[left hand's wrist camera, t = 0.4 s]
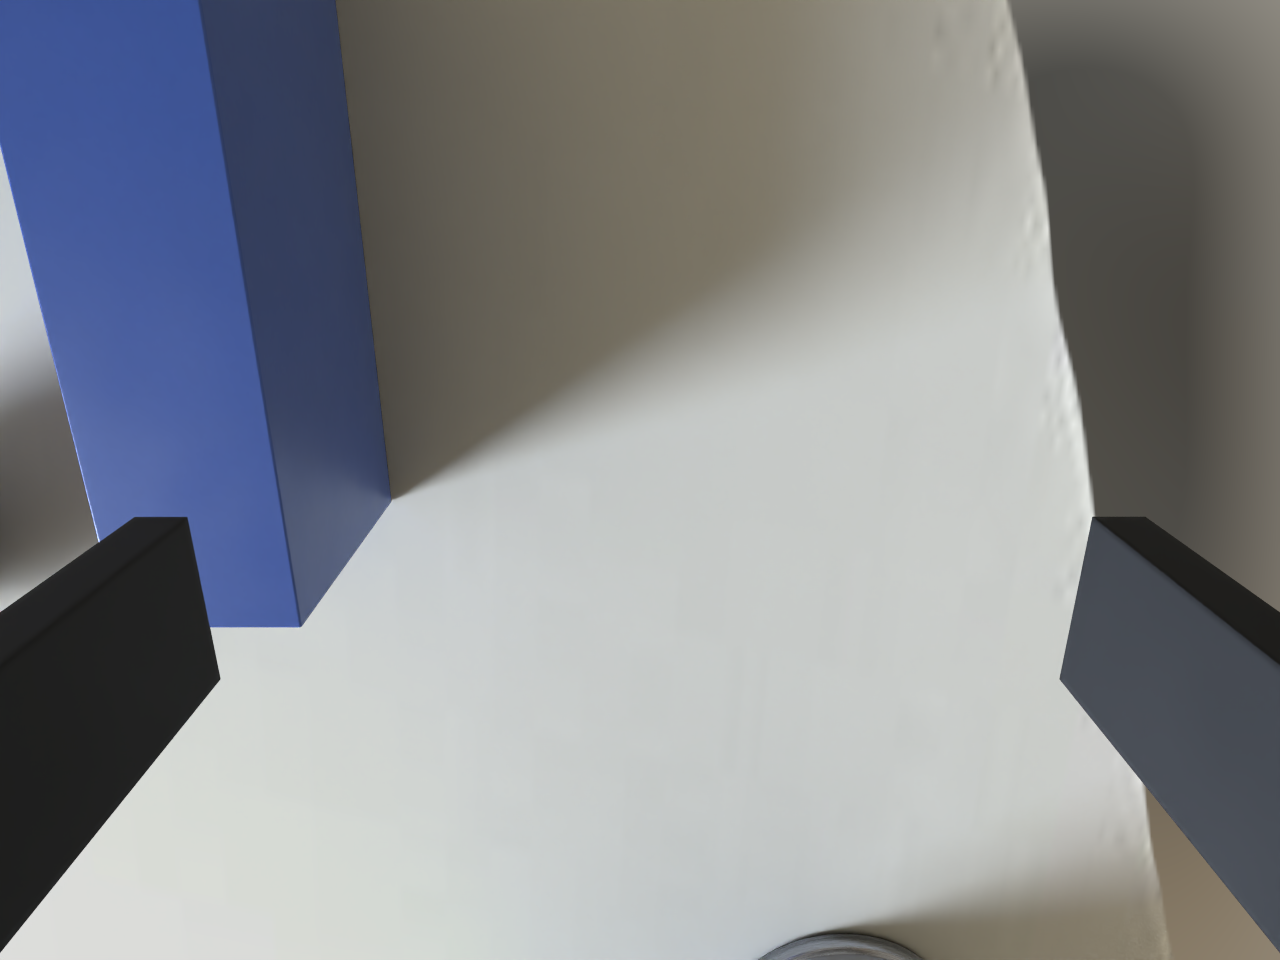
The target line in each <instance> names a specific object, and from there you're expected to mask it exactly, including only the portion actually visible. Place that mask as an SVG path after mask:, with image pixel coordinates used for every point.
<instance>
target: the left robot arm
mask: <svg viewBox="0 0 1280 960" xmlns="http://www.w3.org/2000/svg"><path fill="white" fill-rule="evenodd" d="M219 680H220V674H219V670H218V665H217V660H216V655H215V650H214V645H213V640H212V635H211V630H210V625H209V620H208V615H207V610H206V605H205V601H204V596H203V591H202V586H201V581H200V576H199V571H198V566H197V561H196V556H195V551H194V546H193V541H192V537H191V532H190V527H189V522H188V517H134V518H132V519H131V520H130V521H128V522H127V523H125V524H124V525H123V526H121V527H120V528H118V529H117V530H115V531H114V532H113V533H111V534H110V535H108V536H107V537H106V538H104V539H103V540H101V541H100V542H99V543H97V544H96V545H94V546H93V547H92V548H90V549H89V550H87V551H86V552H85V553H83V554H82V555H80V556H79V557H77V558H76V559H75V560H73V561H72V562H70V563H69V564H68V565H66V566H65V567H63V568H62V569H61V570H59V571H58V572H56V573H55V574H54V575H52V576H51V577H49V578H48V579H47V580H45V581H44V582H42V583H41V584H39V585H38V586H37V587H35V588H34V589H32V590H31V591H30V592H28V593H27V594H25V595H24V596H23V597H21V598H20V599H18V600H17V601H16V602H14V603H13V604H11V605H10V606H8V607H7V608H6V609H4V610H3V611H1V612H0V952H1V951H2V950H3V949H4V947H5V946H6V945H7V944H8V942H9V941H10V940H11V939H12V937H13V936H14V935H15V934H16V932H17V931H18V930H19V929H20V927H21V926H22V925H23V924H24V922H25V921H26V920H27V919H28V918H29V916H30V915H31V914H32V913H33V911H34V910H35V909H36V908H37V906H38V905H39V904H40V903H41V901H42V900H43V899H44V898H45V896H46V895H47V894H48V893H49V891H50V890H51V889H52V888H53V886H54V885H55V884H56V883H57V882H58V880H59V879H60V878H61V877H62V875H63V874H64V873H65V872H66V870H67V869H68V868H69V867H70V865H71V864H72V863H73V862H74V860H75V859H76V858H77V857H78V855H79V854H80V853H81V852H82V850H83V849H84V848H85V847H86V845H87V844H88V843H89V842H90V841H91V839H92V838H93V837H94V836H95V834H96V833H97V832H98V831H99V829H100V828H101V827H102V826H103V824H104V823H105V822H106V821H107V819H108V818H109V817H110V816H111V814H112V813H113V812H114V811H115V809H116V808H117V807H118V806H119V804H120V803H121V802H122V801H123V800H124V798H125V797H126V796H127V795H128V793H129V792H130V791H131V790H132V788H133V787H134V786H135V785H136V783H137V782H138V781H139V780H140V778H141V777H142V776H143V775H144V773H145V772H146V771H147V770H148V768H149V767H150V766H151V765H152V763H153V762H154V761H155V760H156V759H157V757H158V756H159V755H160V754H161V752H162V751H163V750H164V749H165V747H166V746H167V745H168V744H169V742H170V741H171V740H172V739H173V737H174V736H175V735H176V734H177V732H178V731H179V730H180V729H181V727H182V726H183V725H184V724H185V723H186V721H187V720H188V719H189V718H190V716H191V715H192V714H193V713H194V711H195V710H196V709H197V708H198V706H199V705H200V704H201V703H202V701H203V700H204V699H205V698H206V696H207V695H208V694H209V693H210V691H211V690H212V689H213V688H214V686H215V685H216V684H217V683H218V682H219ZM1060 680H1061V682H1062V683H1063V684H1064V685H1065V686H1066V688H1067V689H1068V690H1069V691H1070V693H1071V694H1072V695H1073V696H1074V698H1075V699H1076V700H1077V701H1078V703H1079V704H1080V705H1081V706H1082V708H1083V709H1084V710H1085V711H1086V713H1087V714H1088V715H1089V716H1090V718H1091V719H1092V720H1093V721H1094V723H1095V724H1096V725H1097V726H1098V727H1099V729H1100V730H1101V731H1102V732H1103V734H1104V735H1105V736H1106V737H1107V739H1108V740H1109V741H1110V742H1111V744H1112V745H1113V746H1114V747H1115V749H1116V750H1117V751H1118V752H1119V754H1120V755H1121V756H1122V757H1123V759H1124V760H1125V761H1126V762H1127V764H1128V765H1129V766H1130V767H1131V768H1132V770H1133V771H1134V772H1135V773H1136V775H1137V776H1138V777H1139V778H1140V780H1141V781H1142V782H1143V783H1144V785H1145V786H1146V787H1147V788H1148V790H1149V791H1150V792H1151V793H1152V794H1153V796H1154V797H1155V798H1156V800H1157V801H1158V802H1159V803H1160V804H1161V806H1162V807H1163V808H1164V809H1165V811H1166V812H1167V813H1168V814H1169V816H1170V817H1171V818H1172V819H1173V821H1174V822H1175V823H1176V824H1177V826H1178V827H1179V828H1180V829H1181V831H1182V832H1183V833H1184V834H1185V835H1186V837H1187V838H1188V839H1189V840H1190V842H1191V843H1192V844H1193V845H1194V847H1195V848H1196V849H1197V850H1198V852H1199V853H1200V854H1201V855H1202V857H1203V858H1204V859H1205V860H1206V862H1207V863H1208V864H1209V865H1210V867H1211V868H1212V869H1213V870H1214V871H1215V873H1216V874H1217V875H1218V877H1219V878H1220V879H1221V880H1222V882H1223V883H1224V884H1225V885H1226V886H1227V888H1228V889H1229V890H1230V891H1231V893H1232V894H1233V895H1234V896H1235V898H1236V899H1237V900H1238V901H1239V903H1240V904H1241V905H1242V906H1243V908H1244V909H1245V910H1246V911H1247V913H1248V914H1249V915H1250V916H1251V918H1252V919H1253V920H1254V921H1255V923H1256V924H1257V925H1258V926H1259V927H1260V929H1261V930H1262V931H1263V932H1264V934H1265V935H1266V936H1267V937H1268V939H1269V940H1270V941H1271V942H1272V944H1273V945H1274V946H1275V947H1276V949H1277V950H1278V951H1279V952H1280V612H1279V611H1277V610H1276V609H1274V608H1273V607H1271V606H1270V605H1269V604H1267V603H1266V602H1264V601H1263V600H1262V599H1260V598H1259V597H1257V596H1256V595H1255V594H1253V593H1252V592H1250V591H1249V590H1248V589H1246V588H1245V587H1243V586H1242V585H1241V584H1239V583H1238V582H1236V581H1235V580H1233V579H1232V578H1231V577H1229V576H1228V575H1226V574H1225V573H1224V572H1222V571H1221V570H1219V569H1218V568H1217V567H1215V566H1214V565H1212V564H1211V563H1210V562H1208V561H1207V560H1205V559H1204V558H1203V557H1201V556H1200V555H1198V554H1197V553H1195V552H1194V551H1193V550H1191V549H1190V548H1188V547H1187V546H1186V545H1184V544H1183V543H1181V542H1180V541H1179V540H1177V539H1176V538H1174V537H1173V536H1171V535H1170V534H1169V533H1167V532H1166V531H1165V530H1163V529H1162V528H1160V527H1159V526H1157V525H1156V524H1155V523H1153V522H1152V521H1150V520H1149V519H1148V518H1146V517H1092V522H1091V527H1090V532H1089V537H1088V541H1087V546H1086V551H1085V556H1084V561H1083V566H1082V571H1081V576H1080V581H1079V586H1078V591H1077V596H1076V601H1075V605H1074V610H1073V615H1072V620H1071V625H1070V630H1069V635H1068V640H1067V645H1066V650H1065V655H1064V660H1063V665H1062V669H1061V674H1060ZM759 960H922V959H921V958H920V957H918V956H917V955H916V954H914V953H913V952H911V951H909V950H908V949H906V948H904V947H902V946H900V945H898V944H895V943H893V942H890V941H887V940H883V939H880V938H876V937H871V936H865V935H856V934H831V935H821V936H816V937H810V938H806V939H802V940H798V941H795V942H792V943H789V944H787V945H784V946H782V947H780V948H777V949H776V950H774V951H772V952H770V953H768V954H766V955H765V956H763V957H762V958H760V959H759Z"/></svg>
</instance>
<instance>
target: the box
mask: <svg viewBox="0 0 1280 960" xmlns="http://www.w3.org/2000/svg"><path fill="white" fill-rule="evenodd" d="M0 147H1V151H2V155H3V159H4V163H5V167H6V171H7V175H8V179H9V183H10V187H11V191H12V195H13V199H14V203H15V207H16V211H17V215H18V219H19V223H20V227H21V231H22V235H23V239H24V243H25V247H26V251H27V255H28V259H29V263H30V267H31V271H32V276H33V280H34V284H35V288H36V292H37V296H38V300H39V304H40V308H41V312H42V316H43V320H44V324H45V328H46V332H47V336H48V340H49V344H50V348H51V352H52V356H53V360H54V364H55V368H56V372H57V376H58V380H59V384H60V388H61V392H62V396H63V400H64V404H65V408H66V413H67V417H68V421H69V425H70V429H71V433H72V437H73V441H74V445H75V449H76V453H77V457H78V461H79V465H80V469H81V473H82V477H83V481H84V485H85V489H86V493H87V497H88V501H89V505H90V509H91V513H92V517H93V521H94V525H95V529H96V533H97V537H98V541H99V542H100V541H101V540H103V539H104V538H106V537H107V536H108V535H110V534H111V533H113V532H114V531H115V530H117V529H118V528H120V527H121V526H123V525H124V524H125V523H127V522H128V521H130V520H131V519H132V518H134V517H188V522H189V527H190V532H191V537H192V541H193V546H194V551H195V556H196V561H197V566H198V571H199V576H200V581H201V586H202V591H203V596H204V601H205V605H206V610H207V615H208V620H209V625H210V627H301V626H302V625H303V624H304V622H305V621H306V620H307V618H308V617H309V615H310V614H311V613H312V611H313V610H314V608H315V607H316V606H317V604H318V603H319V602H320V600H321V599H322V597H323V596H324V595H325V593H326V592H327V590H328V589H329V588H330V586H331V585H332V583H333V582H334V581H335V579H336V578H337V576H338V575H339V574H340V572H341V571H342V569H343V568H344V567H345V565H346V564H347V562H348V561H349V560H350V558H351V557H352V556H353V554H354V553H355V551H356V550H357V549H358V547H359V546H360V544H361V543H362V542H363V540H364V539H365V537H366V536H367V535H368V533H369V532H370V530H371V529H372V528H373V526H374V525H375V523H376V522H377V521H378V519H379V518H380V516H381V515H382V514H383V512H384V511H385V510H386V508H387V507H388V505H389V504H390V503H391V494H390V485H389V476H388V467H387V459H386V450H385V441H384V432H383V423H382V414H381V405H380V396H379V387H378V378H377V369H376V360H375V351H374V342H373V333H372V324H371V315H370V307H369V298H368V289H367V280H366V271H365V262H364V253H363V244H362V235H361V226H360V217H359V208H358V199H357V190H356V181H355V172H354V164H353V155H352V146H351V137H350V128H349V119H348V110H347V101H346V92H345V83H344V74H343V65H342V56H341V47H340V38H339V29H338V20H337V12H336V3H335V0H0Z"/></svg>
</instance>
